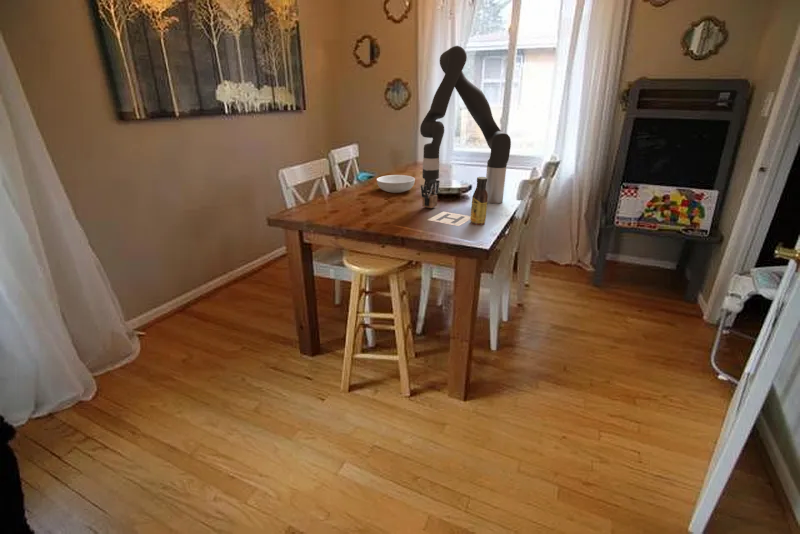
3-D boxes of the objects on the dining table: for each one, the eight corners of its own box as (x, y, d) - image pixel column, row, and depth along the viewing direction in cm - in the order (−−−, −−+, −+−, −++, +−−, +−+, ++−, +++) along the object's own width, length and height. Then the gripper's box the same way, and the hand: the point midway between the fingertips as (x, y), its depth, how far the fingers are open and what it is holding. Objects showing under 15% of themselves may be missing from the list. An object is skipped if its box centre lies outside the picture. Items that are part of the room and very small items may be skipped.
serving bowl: (391, 184, 234) (391, 173, 231) (421, 190, 222) (422, 177, 220) (369, 192, 218) (368, 179, 215) (400, 197, 207) (400, 184, 204)
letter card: (443, 212, 183) (443, 211, 183) (473, 218, 175) (473, 216, 175) (427, 221, 171) (427, 219, 171) (459, 227, 164) (459, 226, 164)
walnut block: (427, 204, 190) (427, 193, 188) (436, 205, 188) (437, 195, 186) (422, 206, 187) (422, 195, 185) (431, 208, 184) (432, 197, 182)
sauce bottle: (468, 222, 170) (471, 175, 162) (482, 222, 170) (487, 175, 162) (472, 227, 164) (476, 179, 156) (487, 227, 165) (491, 178, 156)
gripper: (431, 164, 187) (430, 200, 194) (415, 169, 176) (415, 206, 183) (445, 166, 184) (443, 202, 191) (430, 171, 173) (429, 209, 180)
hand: (429, 204), depth 187 cm, fingers closed on walnut block, 5 cm apart
